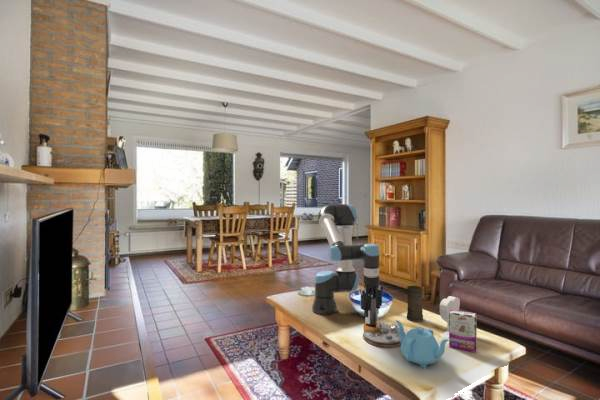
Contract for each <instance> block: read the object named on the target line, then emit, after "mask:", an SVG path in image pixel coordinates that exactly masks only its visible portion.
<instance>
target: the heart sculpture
mask: <svg viewBox="0 0 600 400" xmlns="http://www.w3.org/2000/svg"><path fill="white" fill-rule="evenodd" d="M460 300H461V299H460V297H456V296H451V295H449V296H447V298H443V299H442V300H441V301H440V303H439V315H440V317H441V319H442V321H444V322H446V323H447V325H446V327H447V329H446V330H445V331H444V332H442V333H440V334H439V336H440V337H442V338H443V339H449V312H450V310H456V311H460V305H461V301H460Z"/></svg>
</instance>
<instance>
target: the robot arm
mask: <svg viewBox="0 0 600 400" xmlns="http://www.w3.org/2000/svg"><path fill="white" fill-rule="evenodd" d="M357 218H358V214H357V210H356V208H355V206H354V205H353V204H350V203H349V204H348V203H346V204H341V203H340V204H325V206H323V207H321V209H320V210H319V211H318V215H317V221H318V225H319V226H321V228H322V230H323V232H324V234H325V237H326V239H327V242H328V244H329V248H328V258H329V260H330V261H337V262H338V267H337V268H336V271H335V272H334V271H332V270H322V271H319V272H317V273H316V274H315V276H314V299H313V302H312V303H313V304H312V306H311V310H312V312H313V313H315V314H317V315H332V314H335V313H337V312H338V306H337V303H336V300H335V294H336V293H337V294H339V293H351V292H356V291H357V289H358V288H359V284H360V279H359V278H360V277H359V273H358V272H356V269H355V267H353V261H354V260H355V261H358V260H359V261H360V260H361V261H363V284H364V287H363V289H359V293H360V309H361V310H362V311H363V312H364V313H363V314H364V316H363V317H365V319H364V320H365V321H364V322H365V323H368V324H370V311H369V306H370V300H371V297H372V296H373V297H375V298H376V322H379V310H380V309H381V307H382V306H383V290H384V287H383V286H382V285H379V284H380V276H379V275H380V247H379V244H376V243H358V244H353V243H352V242H353V241H352V239H353V238H352V236H353V235H352V228H353V227H354V226H355V225H354V224H356V222H357Z"/></svg>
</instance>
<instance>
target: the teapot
mask: <svg viewBox="0 0 600 400" xmlns="http://www.w3.org/2000/svg"><path fill="white" fill-rule="evenodd" d="M395 322H396V323H397V324H396V325H398V328H399V340H400V342H401V346H400V351H401V353H402V356H404V358H405V359H404V360H405V362H410V363H415V364H418V365H419V367H420V368H421V369H427V368H428V366H427V365H432V364H435V363H436V362H437V361H439V360H440V358H441V357H442V356H443V355H444V354H445V349H446V344H447V342H449V340H450V339H449V338H442V339H441V341H440V343H438V341H437V339H436V337H435V336H434V330H432V329H431V328H426V329H425V328H424V327H422V326H417V327H416V328H415V327H414V328H411V329H409V330H408V331H407V332H406V333H405V330H404V326H403V324H402V323H401V321H400V320H397V319H396V320H395ZM439 344H440V345H439Z"/></svg>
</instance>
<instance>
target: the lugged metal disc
mask: <svg viewBox="0 0 600 400" xmlns="http://www.w3.org/2000/svg"><path fill="white" fill-rule="evenodd" d="M362 328H363V333H364V336H365V338H367V339H368V340H370V341H372V342H375V343H378V344H386V345H391V344H398V343H400V340H399V326H398V324H395V323H391V324H384V323H382V321H378V322H376V327H371V326H368V323H366V322H365V323H363V327H362Z"/></svg>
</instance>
